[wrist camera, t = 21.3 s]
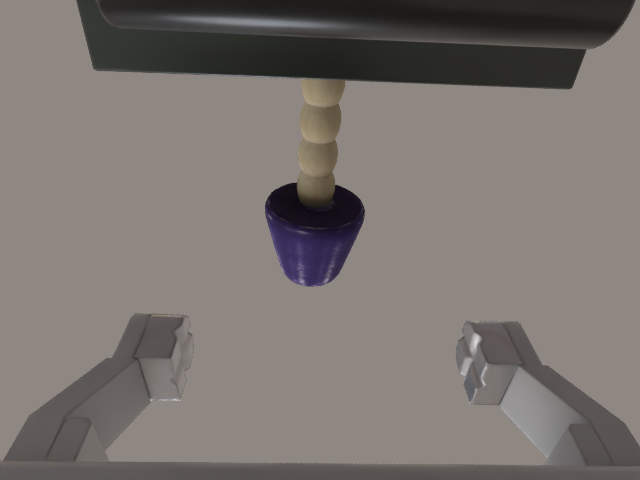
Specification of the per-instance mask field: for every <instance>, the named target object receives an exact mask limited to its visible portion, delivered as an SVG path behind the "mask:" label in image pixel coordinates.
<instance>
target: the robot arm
mask: <svg viewBox="0 0 640 480" xmlns="http://www.w3.org/2000/svg"><path fill="white" fill-rule="evenodd" d="M189 328H190V320H189V316H187V315H168V314H139V313H135V314H134V315H133V316H132V317H131V318H130V320H129V323H128V325H127V327H126V329H125V331H124V333H123V335H122V338H121V340H120V342H119V344H118V346H117V348H116V350H115V353H114V355H113V357H112V358H106V359H105V360H103V361H102V362H101V363H99V364H98V365H97V366H95V367H94V368H93V369H91V370H90V371H88V372H87V373H86V374H84V375H83V376H82V377H80V378H79V379H78V380H76V381H75V382H74V383H72V384H71V385H70V386H68V387H67V388H66V389H64V390H63V391H62V392H60V393H59V394H57V395H56V396H55V397H53V398H52V399H51V400H49V401H48V402H47V403H45V404H44V405H43V406H41V407H40V408H39V409H37V410H36V411H35V412H33V413H32V414H31V415H29V417H28V419H27V420H26V422H25V424H24V425H23V427H22V429H21V431H20V432H19V434H18V436H17V437H16V439H15V441H14V443H13V444H12V446H11V448H10V449H9V451H8V453H7V455H6V456H5V458H4V460H3V461H0V480H640V446H639V445H638V443H637V442H636V440H635V438H634V437H633V435H632V434H631V432H630V431H629V429H628V427H627V426H626V424H625V423H624V422H622V421H621V420H620V419H619V418H617V417H616V416H615V415H613V414H612V413H611V412H609V411H608V410H606V409H605V408H604V407H603V406H601V405H600V404H598V403H597V402H596V401H594V400H593V399H592V398H590V397H589V396H588V395H586V394H585V393H584V392H582V391H581V390H580V389H578V388H577V387H576V386H574V385H573V384H572V383H570V382H569V381H568V380H566V379H565V378H564V377H562V376H561V375H560V374H558V373H557V372H555V371H554V370H553V369H552V368H550V367H549V366H545V365H542V363H541V361H540V359H539V358H538V356H537V354H536V352H535V350H534V348H533V346H532V345H531V343H530V341H529V339H528V337H527V335H526V333H525V332H524V330H523V328H522V326H521V324H520V323H519V322H511V321H501V322H499V321H467V322H466V323H465V324H464V326H463V329H462V331H463V334H464V337H462V338H461V339H460V340H459V341H458V344H457V347H456V360H457V365H458V368H459V372H461V373H462V374H463V375H464V376H465V377H466V380H465V383H464V387H465V390H466V392H467V395H468V398H469V401H470V404H480V405H500V406H499V407H500V408H501V409H502V410H503V411H504V412H505V414H506V415H507V416H508V417H509V418H510V419H511V420H512V421H513V422H514V423H515V424H516V425H517V426H518V427H519V428H520V430H521V431H522V432H523V433H524V434H525V435H526V436H527V437H528V438H529V439H530V440H531V441H532V442H533V443H534V444H535V445H536V446H537V448H538V449H539V450H540V451H541V452H542V453H543V454H544V455H545V456H546V457H547V460H546V461H545V463H544V464H543V465H464V464H462V465H461V464H451V465H450V464H327V463H326V464H325V463H323V464H322V463H210V462H207V463H206V462H205V463H204V462H109V460H108V457H107V455H106V453H105V450H106V449H107V448H108V447H109V446H110V445H111V444H112V443H113V442H114V440H116V439H117V438H118V437H119V435H120V434H121V433H122V432H123V431H124V430H125V429H126V428H127V427H128V426H129V425H130V424H131V423H132V422H133V421H134V419H135V418H136V417H137V416H138V415H139V414H140V413H141V412H142V411H143V410H144V409H145V408H146V407H147V406H148V405H149V404H150V401H155V400H181V398H182V395H183V391H184V388H185V384H186V375H185V371H186V370H187V369H189V368H190V366H191V362H192V358H193V348H194V345H193V336H192V334H190V333H189V332H188V331H189Z"/></svg>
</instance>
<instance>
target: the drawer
mask: <svg viewBox="0 0 640 480" xmlns="http://www.w3.org/2000/svg"><path fill="white" fill-rule="evenodd" d="M634 3H635V0H77V5H78V9H79V12H80V16H81V21H82V25H83V29H84V33H85V37H86V41H87V45H88V49H89V53H90V57H91V61H92V65H93V68H94V69H95V70H97V71H118V72H143V73H170V74H193V75H194V74H195V75H220V76H244V77H270V78H295V79H319V80H344V81H369V82H394V83H420V84H444V85H470V86H495V87H496V86H497V87H519V88H544V89H571V88H572V87H573V85H574V82H575V79H576V76H577V74H578V71H579V68H580V66H581V63H582V60H583V58H584V55H585V53H586V50H587V49H593V48H596V47H598V46H601V45H603V44H604V43H606V42H607V41H609V40H610V39H611V38H612V37H613V36H614V35H615V34H616V33H617V32H618V30H619V29H620V27H621V26H622V25H623V24H624V22H625V20H626V19H627V17H628V15H629V13H630V12H631V9H632V7H633V5H634Z"/></svg>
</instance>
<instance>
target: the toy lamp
mask: <svg viewBox="0 0 640 480" xmlns="http://www.w3.org/2000/svg"><path fill="white" fill-rule="evenodd" d="M301 84H302V93H303V96H304V98H305V103H304V105H303V107H302V110H301V115H300V128H301V132H302V135H303V139H302V141H301V143H300V147H299V157H298V159H299V163H300V167H301V169H302V171H301V172H300V174H299V177H298V181H297V183H290V184H287V185H284V186H282V187H280V188H278V189H276V190H274V191H273V192H272V193H271V195H270V196H269V197H268V199H267V201H266V205H265V213H266V219H267V222H268V226H269V229H270V232H271V236H272V239H273V243H274V247H275V249H276V253H277V256H278V259H279V262H280V266H281V268H282V270H283V272H284V274H285V275H286V276H287V277H288V278H289V279H290V280H291V281H293V282H295V283H297V284H300V285H304V286H321V285H325V284H327V283H329V282H331V281H332V280H333V279H334V278H335V277H336V276H337V275H338V274H339V272H340V270H341V268H342V267H343V264H344V262H345V260H346V258H347V256H348V254H349V252H350V250H351V248H352V246H353V244H354V241H355V239H356V237H357V235H358V233H359V230H360V228H361V226H362V224H363V220H364V216H365V210H364V206H363V204H362V202H361V200H360V199H359V198H358V197H357V196H356V195H355V194H354V193H352V192H351V191H349V190H347V189H345V188H343V187H340V186H338V185H335V179H334V175H333V173H332V171H333V169H334V168H335V165H336V162H337V157H338V149H337V143H336V141H335V138H336V136H337V134H338V132H339V129H340V124H341V111H340V107H339V104H338V103H339V101H340V99H341V97H342V95H343V92H344V87H345V81H344V80H319V79H302V81H301Z"/></svg>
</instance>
